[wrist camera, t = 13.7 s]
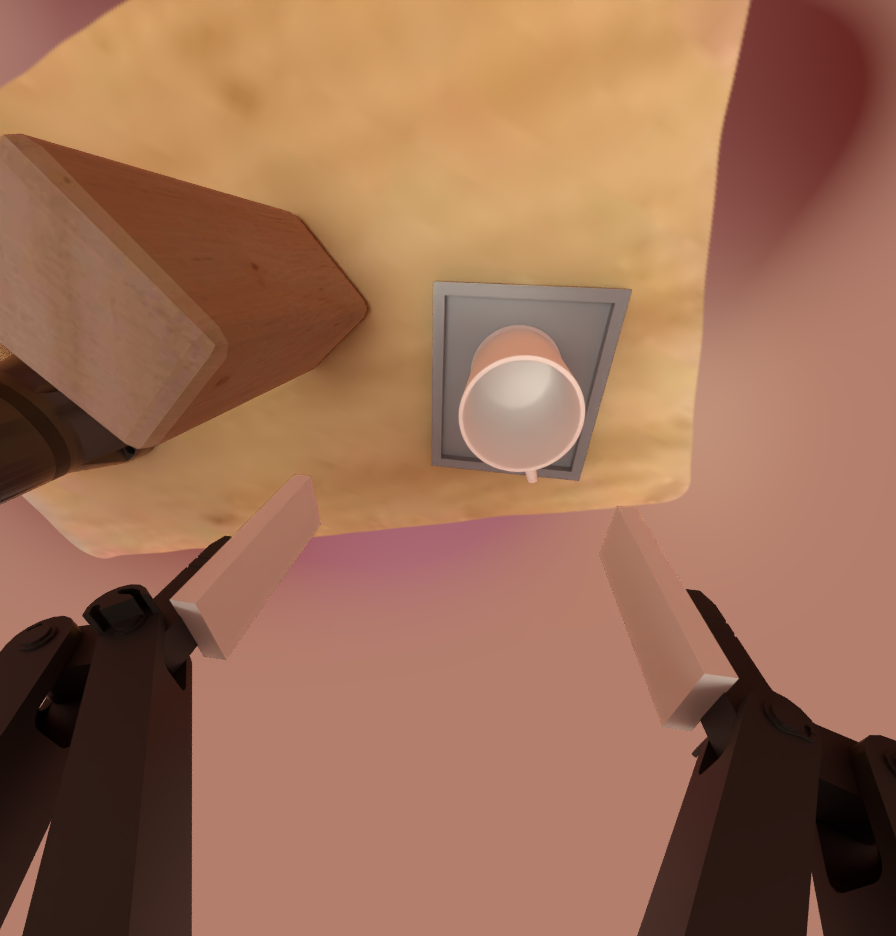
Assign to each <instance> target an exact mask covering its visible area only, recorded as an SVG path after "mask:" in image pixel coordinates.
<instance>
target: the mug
mask: <svg viewBox="0 0 896 936" xmlns="http://www.w3.org/2000/svg"><path fill="white" fill-rule="evenodd" d="M584 419H585V402H584V397H583V394H582V391H581V389H580V386H579V385H578V383H577V381H576V380H575V378H574V376H573V375H572V373H571V372H570V370H569V369H568V367H567V366H566V364H565V363H564V361H563V360H562V358H561V354H560V352H559V349H558V347H557V345H556V344H555V342H554V341H553V340H552V339H551V338H550V337H549V336H548V335H547V334H546V333H544V332H543V331H541V330H539V329H537V328H535V327H532V326H528V325H511V326H507V327H503V328H501V329H499V330H497V331H495V332H493V333H492V334H490V335H489V336H488V337H487V338H486V339H485V340H484V341H483V342H482V343H481V344H480V346H479V347H478V349H477V350H476V352H475V354H474V357H473V360H472V364H471V373H470V376H469V379H468V382H467V384H466V387H465V390H464V393H463V396H462V399H461V402H460V407H459V426H460V430H461V434H462V436H463V439H464V441H465V443H466V444H467V446H468V447H469V449H470V450H471V451H472V452H473V453H474V454H475V455H476V456H477V457H478V458H479V459H480V460H482V461H483V462H485V463H486V464H488V465H490V466H492V467H495V468H498V469H501V470H505V471H511V472H525V473H526V477H527V480H528V482H529V483H535V482H537V480H538V478H537V471H536V470H537V469H540V468H543V467H546V466H548V465H550V464H552V463H554V462H555V461H557V460H558V459H560V458H561V457H562V456H564V455H565V454H566V453H567V452H568V451H569V450H570V449H571V448H572V446H573V445H574V444H575V442H576V441H577V439H578V437H579V435H580V433H581V430H582V428H583V424H584Z"/></svg>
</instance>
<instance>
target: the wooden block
mask: <svg viewBox="0 0 896 936" xmlns="http://www.w3.org/2000/svg"><path fill="white" fill-rule="evenodd" d="M367 309H368V308H367V306H366V304H365V302H364V300H363V298H362V297H361V296H360V295H359V293H358V292H357V291H356V290H355V288H354V287H353V286H352V285H351V283H350V282H349V281H348V280H347V278H346V277H345V276H344V275H343V273H342V272H341V271H340V270H339V268H338V267H337V266H336V265H335V263H334V262H333V261H332V260H331V258H330V257H329V256H328V255H327V253H326V252H325V251H324V250H323V248H322V247H321V246H320V245H319V243H318V242H317V241H316V240H315V238H314V237H313V236H312V235H311V233H310V232H309V231H308V230H307V228H306V227H305V226H304V225H303V223H302V222H301V221H300V220H299V218H298V217H297V216H295V215H293V214H292V213H290V212H288V211H285V210H281V209H278V208H274V207H271V206H267V205H264V204H261V203H257V202H254V201H250V200H247V199H243V198H240V197H237V196H233V195H230V194H226V193H223V192H219V191H216V190H212V189H209V188H206V187H202V186H199V185H195V184H192V183H188V182H185V181H182V180H178V179H175V178H171V177H168V176H164V175H161V174H158V173H154V172H151V171H147V170H144V169H140V168H137V167H133V166H130V165H127V164H123V163H120V162H116V161H113V160H109V159H106V158H103V157H99V156H96V155H92V154H89V153H85V152H82V151H79V150H75V149H72V148H68V147H65V146H61V145H58V144H54V143H51V142H48V141H44V140H41V139H37V138H34V137H30V136H27V135H24V134H8V135H3V136H2V137H0V343H1V344H2V345H3V346H4V347H6V348H7V349H8V350H9V351H11V352H12V353H13V354H14V355H16V356H17V357H18V358H19V359H21V360H22V361H23V362H24V363H26V364H27V365H28V366H29V367H31V368H32V369H33V370H34V371H36V372H37V373H38V374H39V375H40V376H42V377H43V378H44V379H45V380H47V381H48V382H49V383H50V384H52V385H53V386H54V387H55V388H57V389H58V390H59V391H60V392H62V393H63V394H64V395H65V396H67V397H68V398H69V399H70V400H72V401H73V402H74V403H75V404H77V405H78V406H79V407H80V408H82V409H83V410H84V411H85V412H87V413H88V414H89V415H90V416H92V417H93V418H94V419H95V420H97V421H98V422H99V423H100V424H102V425H103V426H104V427H105V428H106V429H108V430H109V431H110V432H111V433H113V434H114V435H115V436H116V437H118V438H119V439H120V440H121V441H123V442H124V443H125V444H127V445H130V446H132V447H134V448H137V449H142V448H148V447H152V446H156V445H159V444H161V443H163V442H165V441H167V440H169V439H171V438H173V437H175V436H177V435H179V434H181V433H183V432H185V431H188V430H190V429H192V428H194V427H196V426H198V425H200V424H202V423H204V422H206V421H208V420H210V419H212V418H214V417H216V416H218V415H220V414H222V413H224V412H226V411H228V410H230V409H232V408H235V407H237V406H239V405H241V404H243V403H245V402H247V401H249V400H251V399H253V398H255V397H257V396H259V395H261V394H263V393H265V392H267V391H269V390H271V389H273V388H275V387H277V386H280V385H282V384H284V383H286V382H288V381H290V380H292V379H294V378H296V377H298V376H300V375H302V374H304V373H306V372H308V371H310V370H312V369H314V368H315V367H316V366H317V365H318V364H319V363H320V362H321V361H322V360H323V359H324V358H325V357H326V356H327V355H328V354H329V353H330V352H331V350H332V349H333V348H334V347H335V346H336V345H337V344H338V343H339V342H340V341H341V340H342V339H343V338H344V337H345V336H346V335H347V334H348V333H349V332H350V331H351V330H352V329H353V328H354V327H355V326H356V325H357V324H358V323H359V322H360V321H361V320H362V319H363V318H364V317H365V314H366V311H367Z"/></svg>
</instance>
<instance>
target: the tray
mask: <svg viewBox="0 0 896 936" xmlns="http://www.w3.org/2000/svg"><path fill="white" fill-rule="evenodd" d="M631 292H632V290H631V289H617V288H593V287H568V286H544V285H520V284H496V283H471V282H447V281H433V372H432V466H441V467H451V468H460V469H470V470H480V471H489V472H499V473H508V474H518V475H526V473H525V472H511V471H505V470H501V469H498V468H495V467H492V466H490V465H488V464H486V463H485V462H483V461H482V460H480V459H479V458H478V457H477V456H476V455H475V454H474V453H473V452H472V451H471V450H470V449H469V447H468V446H467V444H466V443H465V441H464V439H463V436H462V434H461V430H460V426H459V407H460V402H461V399H462V396H463V393H464V390H465V387H466V384H467V382H468V379H469V376H470V373H471V364H472V360H473V357H474V354H475V352H476V350H477V349H478V347H479V346H480V344H481V343H482V342H483V341H484V340H485V339H486V338H487V337H488V336H489V335H490V334H492V333H493V332H495V331H497V330H499V329H501V328H503V327H507V326H511V325H528V326H532V327H535V328H537V329H539V330H541V331H543V332H544V333H546V334H547V335H548V336H549V337H550V338H551V339H552V340H553V341H554V342H555V344H556V345H557V347H558V349H559V352H560V354H561V358H562V360H563V361H564V363H565V364H566V366H567V367H568V369H569V370H570V372H571V373H572V375H573V376H574V378H575V380H576V381H577V383H578V385H579V386H580V389H581V391H582V394H583V397H584V402H585V419H584V424H583V428H582V430H581V433H580V435H579V437H578V439H577V441H576V442H575V444H574V445H573V446H572V448H571V449H570V450H569V451H568V452H567V453H566V454H565V455H564V456H562V457H561V458H560V459H558V460H557V461H555V462H554V463H552V464H550V465H548V466H546V467H543V468H540V469H537V470H536V471H537V477H546V478H556V479H566V480H575V481H579V479H580V475H581V472H582V468H583V465H584V461H585V457H586V454H587V450H588V447H589V443H590V439H591V436H592V432H593V429H594V425H595V421H596V418H597V414H598V411H599V407H600V403H601V400H602V396H603V393H604V389H605V385H606V382H607V378H608V375H609V371H610V367H611V364H612V360H613V357H614V353H615V349H616V346H617V342H618V338H619V335H620V331H621V328H622V324H623V320H624V317H625V313H626V310H627V306H628V302H629V299H630V295H631Z"/></svg>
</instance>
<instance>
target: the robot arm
mask: <svg viewBox="0 0 896 936" xmlns="http://www.w3.org/2000/svg"><path fill="white" fill-rule="evenodd" d="M153 447H154V446H152V447H148V448H142V449H137V448H134V447H132V446H130V445H127V444H125V443H124V442H123V441H121V440H120V439H119V438H118V437H116V436H115V435H114V434H113V433H111V432H110V431H109V430H108V429H106V428H105V427H104V426H103V425H102V424H100V423H99V422H98V421H97V420H95V419H94V418H93V417H92V416H90V415H89V414H88V413H87V412H85V411H84V410H83V409H82V408H80V407H79V406H78V405H77V404H75V403H74V402H73V401H72V400H70V399H69V398H68V397H67V396H65V395H64V394H63V393H62V392H60V391H59V390H58V389H57V388H55V387H54V386H53V385H52V384H50V383H49V382H48V381H47V380H45V379H44V378H43V377H42V376H40V375H39V374H38V373H37V372H36V371H34V370H33V369H32V368H31V367H29V366H28V365H27V364H26V363H24V362H23V361H22V360H21V359H19V358H18V357H17V356H16V355H14V354H13V355H11V356H9V357H7V358H6V359H4V360H2V361H0V504H2V503H5V502H7V501H9V500H11V499H13V498H16V497H18V496H19V495H22V494H24V493H26V492H29V491H31V490H33V489H35V488H37V487H39V486H42V485H44V484H46V483H48V482H50V481H52V480H54V479H57V478H59V477H61V476H63V475H66V474H68V473H71V472H77V471H82V470H88V469H93V468H99V467H105V466H110V465H116V464H122V463H126V462H129V461H132V460H134V459H136V458H138V457H140V456H142V455H144V454H146V453H148V452H149V451H151V450H152V449H153ZM320 525H321V521H320V517H319V512H318V507H317V502H316V498H315V493H314V488H313V483H312V479H311V476H306V475H296V474H294V475H293V476H292V477H291V478H290V479H289V480H288V481H287V482H286V483H285V484H284V485H283V486H282V487H281V488H280V489H279V490H278V491H277V492H276V493H275V494H274V495H273V496H272V497H271V498H270V499H269V500H268V501H267V502H266V503H265V504H264V505H263V506H262V507H261V508H260V509H259V510H258V511H257V512H256V513H255V514H254V515H253V516H252V517H251V518H250V519H249V520H248V521H247V522H246V523H245V524H244V525H243V526H242V527H241V528H240V530H239V531H238V532H237V533H236V534H235V535H234V536H233V537H230V536H224V537H222V538H221V539H219V540H217V541H216V542H214V543H212V544H210V545H209V546H208V547H207V548H206V549H205V550H204V551H203V552H202V553H201V554H200V555H199V556H198V558H196V559H194V560H193V561H192V562H191V563H190V564H189V567H188V568H187V567H186V568H185V569H184V570H183V571H182V572H181V573H180V574H179V575H178V576H177V577H176V578H175V579H173V580H172V581H171V582H170V583H169V584H168V585H167V586H166V587H165V588H164V589H163V590H162V591H161V592H160V593H159V594H158V595H157V596H156V597H155V598H154V599H153V598H152V597H151V595H150V594H149V592H148V591H147V589H146V588H145V587H143V586H141V585H126V586H122V587H118V588H116V589H114V590H111V591H109V592H107V593H105V594H104V595H102V596H100V597H99V598H97V599H96V600H95V601H94V602H92V603H91V604H90V605H89V606H88V607H87V608H86V610H85V612H84V613H83V617H84V618H85V620H86V621H87V622H88V623H89V624H90V625H85V626H77V624H76V623H75V622H74V621H73V620H72V619H71V618H69V617H66V616H59V617H52V618H49V619H46V620H43V621H40V622H38V623H36V624H34V625H32V626H30V627H28V628H26V629H25V630H23V631H22V632H20V633H19V634H17V635H16V636H15V637H14V638H13V639H12V640H11V641H10V642H8V643H7V644H6V645H5V647H4V648H3V649H2V651H1V652H0V928H1V926H2V924H3V922H4V920H5V918H6V916H7V913H8V911H9V909H10V907H11V905H12V903H13V901H14V898H15V896H16V894H17V892H18V890H19V888H20V885H21V884H22V881H23V879H24V877H25V875H26V873H27V871H28V868H29V866H30V864H31V862H32V860H33V858H34V856H35V853H36V851H37V849H38V847H39V845H40V843H41V841H42V839H43V836H44V834H45V832H46V830H47V828H48V826H49V824H50V822H51V824H50V828H49V832H48V836H47V840H46V844H45V848H44V852H43V856H42V860H41V864H40V868H39V872H38V876H37V879H36V884H35V888H34V891H33V895H32V899H31V903H30V907H29V911H28V915H27V919H26V923H25V927H24V931H23V935H22V936H192V931H191V930H192V919H191V918H192V917H191V916H192V661H191V658H190V656H189V655H190V654H191V653H192V652H193V650H194V649H195V648H196V647H197V646H198V648H199V649H200V651H201V652H202V654H203V656H204V657H210V658H217V659H223V660H227V658H228V657H229V655H230V654H231V653H232V651H233V650H234V648H235V647H236V645H237V644H238V642H239V641H240V640H241V638H242V637H243V635H244V634H245V632H246V631H247V629H248V628H249V627H250V625H251V624H252V622H253V621H254V619H255V618H256V617H257V615H258V614H259V612H260V611H261V609H262V608H263V607H264V605H265V604H266V602H267V601H268V599H269V598H270V596H271V595H272V594H273V592H274V591H275V589H276V588H277V586H278V585H279V584H280V582H281V581H282V579H283V578H284V576H285V575H286V573H287V572H288V571H289V569H290V568H291V566H292V565H293V563H294V562H295V561H296V559H297V558H298V556H299V555H300V553H301V552H302V550H303V549H304V548H305V546H306V545H307V543H308V542H309V540H310V539H311V538H312V536H313V535H314V533H315V532H316V530H317V529H318V527H319V526H320ZM600 558H601V561H602V563H603V566H604V569H605V572H606V575H607V577H608V580H609V583H610V586H611V588H612V591H613V594H614V596H615V599H616V602H617V604H618V607H619V610H620V613H621V615H622V618H623V621H624V624H625V626H626V629H627V632H628V635H629V637H630V640H631V643H632V646H633V648H634V651H635V654H636V656H637V659H638V662H639V665H640V667H641V670H642V673H643V676H644V678H645V681H646V684H647V686H648V689H649V692H650V695H651V697H652V700H653V703H654V706H655V708H656V711H657V713H658V716H659V719H660V722H661V725H662V727H667V728H673V729H679V730H686V731H692V730H693V729H694V728H695V726H696V725H697V724H698V723H699V722H700V721H701V723H702V725H703V727H704V729H705V732H706V734H707V736H708V737H707V738H706V739H705V740H704V741H703V742H702V743H701V744H700V745H699V746H698V747H697V748H696V749H695V750H694V752H693V753H692V755H693V756H694V757H697V756H698V755H699V756H698V759H697V761H696V765H695V767H694V770H693V773H692V776H691V779H690V782H689V785H688V788H687V791H686V794H685V797H684V800H683V803H682V806H681V809H680V812H679V814H678V817H677V820H676V824H675V826H674V829H673V832H672V835H671V838H670V842H669V844H668V847H667V850H666V853H665V856H664V859H663V862H662V865H661V867H660V871H659V873H658V876H657V879H656V882H655V885H654V888H653V891H652V894H651V897H650V900H649V903H648V906H647V909H646V912H645V915H644V918H643V921H642V923H641V927H640V929H639V932H638V935H637V936H806V934H807V922H808V910H809V897H810V884H811V872H812V876H813V882H814V886H815V892H816V897H817V902H818V908H819V914H820V919H821V924H822V929H823V935H824V936H896V741H895V740H892V739H889V738H887V737H884V736H881V735H869V736H868V737H866V738H865V739H863V740H862V741H860V742H857V741H854V740H852V739H849V738H847V737H845V736H842V735H840V734H838V733H835V732H833V731H830V730H828V729H826V728H823V727H821V726H819V725H816V724H815V723H813V722H812V720H811V719H810V718H809V717H808V716H807V715H806V714H805V713H804V712H803V711H802V710H801V709H800V708H799V707H798V706H796V705H795V704H794V703H792V702H791V701H790V700H788V699H787V698H785V697H783V696H782V695H780V694H777V693H776V692H774V691H773V690H772V689H771V688H770V687H769V685H768V684H767V682H766V681H765V679H764V678H763V676H762V675H761V673H760V672H759V670H758V668H757V667H756V666H755V664H754V662H753V661H752V659H751V658H750V657H749V655H748V654H747V652H746V650H745V649H744V647H743V646H742V644H741V643H740V641H739V640H738V638H737V637H735V636H734V632H733V631H732V629H731V628H730V626H729V625H728V624H726V620H725V619H724V617H723V616H722V614H721V613H720V611H719V610H718V608H717V607H716V605H715V604H714V603H713V602H712V601H710V599H708V598H707V597H706V596H705V595H704V594H703V593H702V592H701V591H697V590H689V589H685V588H684V586H683V584H682V583H681V581H680V580H679V578H678V576H677V574H676V573H675V571H674V569H673V568H672V566H671V564H670V563H669V561H668V559H667V558H666V556H665V554H664V553H663V551H662V549H661V548H660V546H659V544H658V543H657V541H656V539H655V538H654V536H653V534H652V533H651V531H650V529H649V528H648V526H647V524H646V523H645V521H644V519H643V518H642V516H641V514H640V513H639V511H638V509H637V508H634V507H624V506H617V508H616V510H615V513H614V516H613V519H612V521H611V524H610V527H609V530H608V532H607V535H606V538H605V541H604V543H603V546H602V549H601V551H600ZM45 697H46V699H45ZM44 699H45V701H44V703H43V704H42V706H41V707H40V705H41V703H42V702H43V700H44ZM39 707H40V708H39ZM51 819H52V820H51Z"/></svg>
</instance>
